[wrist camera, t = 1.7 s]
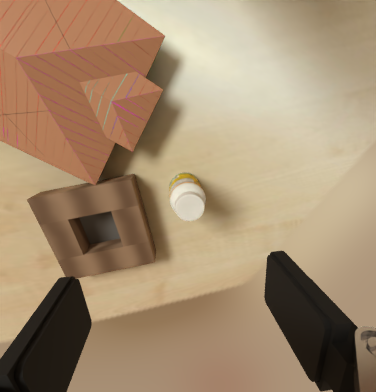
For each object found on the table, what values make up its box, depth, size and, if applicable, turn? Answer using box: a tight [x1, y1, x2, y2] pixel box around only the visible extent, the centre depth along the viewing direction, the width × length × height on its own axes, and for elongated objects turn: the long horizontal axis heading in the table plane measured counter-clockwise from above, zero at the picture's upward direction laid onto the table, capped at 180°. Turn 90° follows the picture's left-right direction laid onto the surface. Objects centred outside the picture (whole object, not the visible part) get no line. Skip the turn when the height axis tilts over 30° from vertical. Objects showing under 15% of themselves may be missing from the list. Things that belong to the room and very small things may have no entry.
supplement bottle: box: [169, 172, 206, 221], centre depth 31 cm, size 5×5×10 cm
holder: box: [27, 174, 156, 279], centre depth 35 cm, size 16×16×4 cm
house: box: [0, 0, 165, 185], centre depth 24 cm, size 23×33×8 cm
